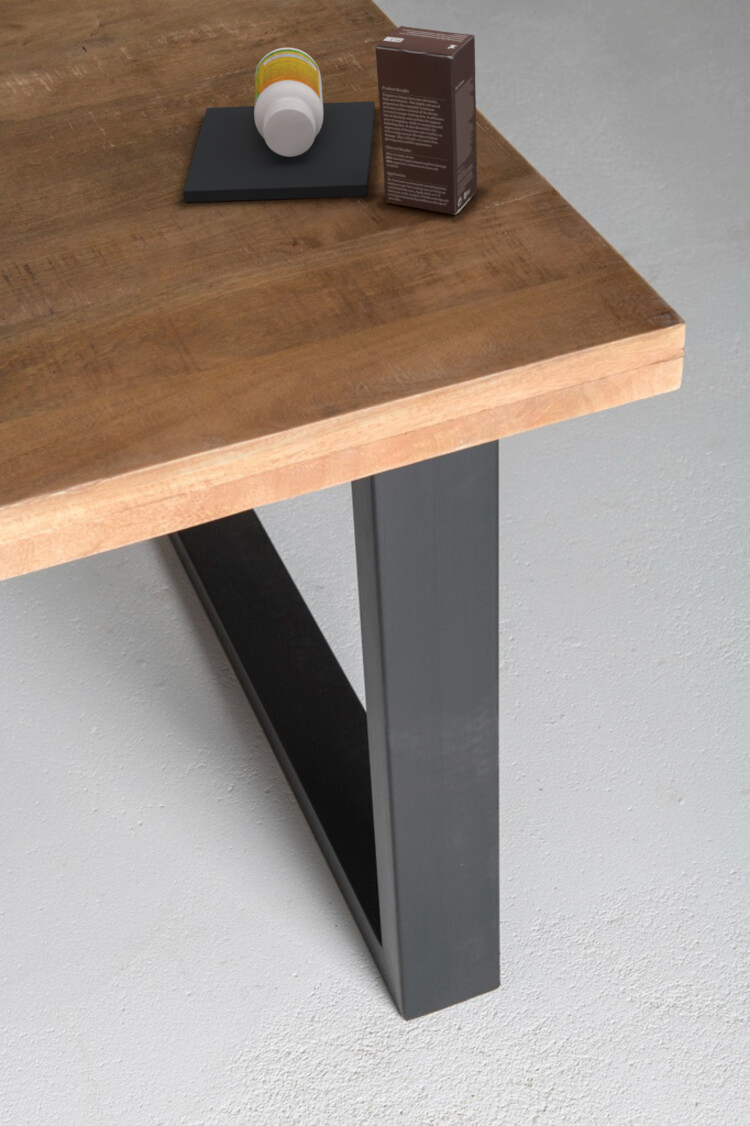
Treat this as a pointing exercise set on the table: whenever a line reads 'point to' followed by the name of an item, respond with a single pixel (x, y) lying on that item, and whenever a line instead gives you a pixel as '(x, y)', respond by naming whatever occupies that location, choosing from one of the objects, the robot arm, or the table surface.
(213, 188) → the charcoal mat
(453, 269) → the table surface
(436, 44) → the box
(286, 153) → the supplement bottle
